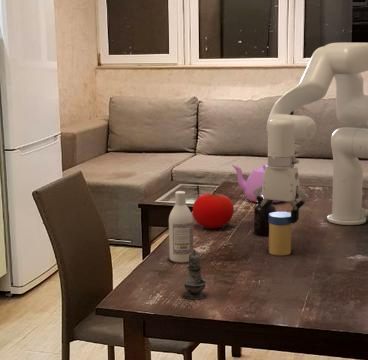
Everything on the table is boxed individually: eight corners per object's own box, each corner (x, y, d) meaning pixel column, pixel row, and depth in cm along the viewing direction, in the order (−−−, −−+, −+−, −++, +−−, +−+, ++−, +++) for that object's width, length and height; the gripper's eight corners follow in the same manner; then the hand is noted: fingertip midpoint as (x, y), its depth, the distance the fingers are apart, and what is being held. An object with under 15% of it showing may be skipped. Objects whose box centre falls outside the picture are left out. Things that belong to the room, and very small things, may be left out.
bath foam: (198, 260, 213) (197, 192, 209) (177, 264, 210) (175, 195, 206) (185, 254, 219) (184, 188, 215) (165, 258, 216) (163, 191, 212)
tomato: (191, 222, 255) (191, 188, 253) (231, 221, 254) (231, 187, 252) (193, 232, 242) (193, 197, 240) (235, 231, 242) (235, 196, 239)
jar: (289, 248, 222) (289, 213, 220) (292, 255, 216) (293, 218, 213) (267, 249, 222) (267, 213, 220) (270, 255, 216) (270, 219, 214)
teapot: (231, 193, 295) (231, 159, 293) (287, 193, 292) (288, 158, 290) (231, 206, 274) (231, 170, 271) (291, 206, 271) (292, 169, 268)
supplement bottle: (275, 236, 235) (275, 199, 232) (253, 236, 236) (253, 199, 234) (275, 230, 241) (276, 194, 239) (254, 230, 243) (254, 194, 240)
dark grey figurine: (181, 291, 189) (180, 246, 187) (204, 290, 189) (203, 245, 187) (185, 300, 183) (184, 253, 181) (208, 298, 184) (208, 252, 181)
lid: (290, 218, 220) (290, 211, 220) (294, 224, 213) (294, 217, 213) (266, 219, 221) (267, 211, 220) (269, 225, 214) (269, 217, 213)
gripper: (314, 161, 212) (313, 221, 215) (258, 157, 221) (257, 214, 225) (305, 166, 206) (304, 227, 209) (247, 161, 215) (247, 220, 219)
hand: (280, 220), depth 217 cm, fingers open, 8 cm apart
